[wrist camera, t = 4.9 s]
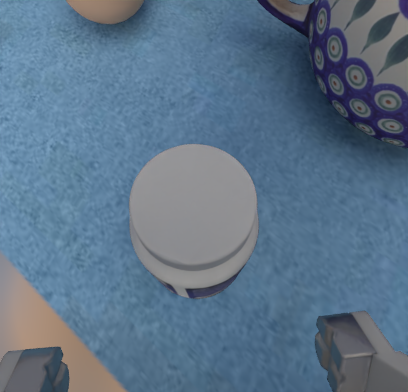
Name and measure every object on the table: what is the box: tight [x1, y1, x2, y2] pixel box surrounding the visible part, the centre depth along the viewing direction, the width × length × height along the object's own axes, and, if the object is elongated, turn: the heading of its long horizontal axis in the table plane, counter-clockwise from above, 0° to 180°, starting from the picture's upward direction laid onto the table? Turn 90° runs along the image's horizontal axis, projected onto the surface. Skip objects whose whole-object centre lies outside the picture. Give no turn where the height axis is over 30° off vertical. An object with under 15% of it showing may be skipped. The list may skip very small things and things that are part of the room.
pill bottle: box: [129, 144, 259, 299], centre depth 17 cm, size 6×6×10 cm
